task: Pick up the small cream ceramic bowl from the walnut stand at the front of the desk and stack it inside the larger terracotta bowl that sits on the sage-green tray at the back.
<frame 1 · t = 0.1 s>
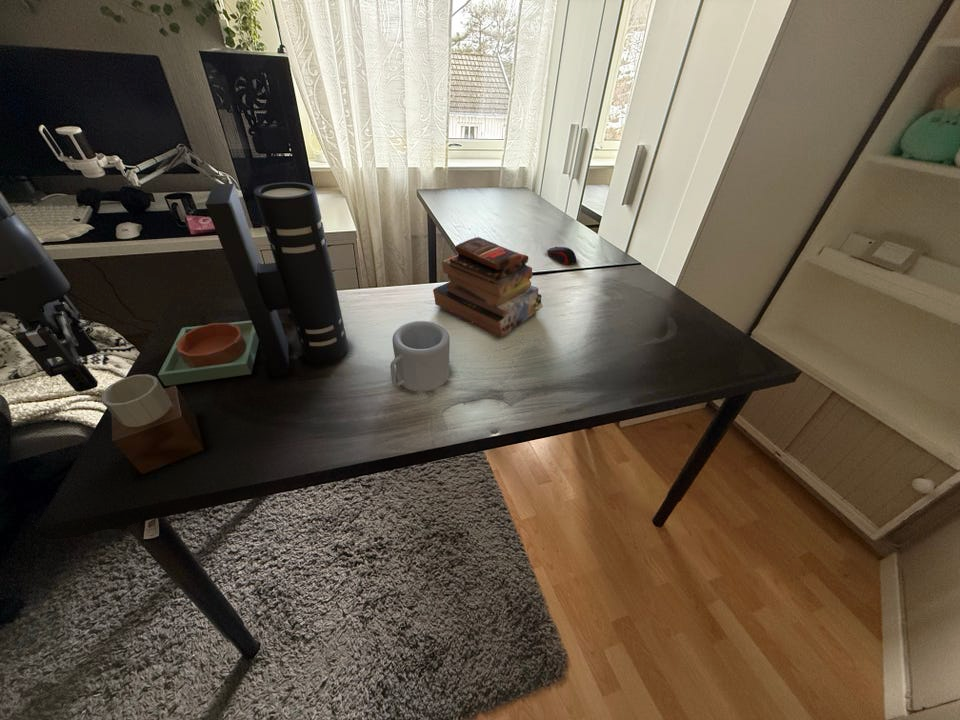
hand: (89, 370, 52), 15 cm above the table, tool pointing down, fingers open, 8 cm apart
big bowl: (216, 352, 77), point 1 cm above the table, touching tray
mug: (418, 378, 76), on the table
small bowl: (146, 410, 55), point 8 cm above the table, touching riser
light fixture: (312, 355, 80), on the table
computer mouse: (561, 258, 126), on the table
stack of old books: (487, 311, 98), on the table
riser: (171, 444, 60), on the table
tray: (218, 355, 78), on the table
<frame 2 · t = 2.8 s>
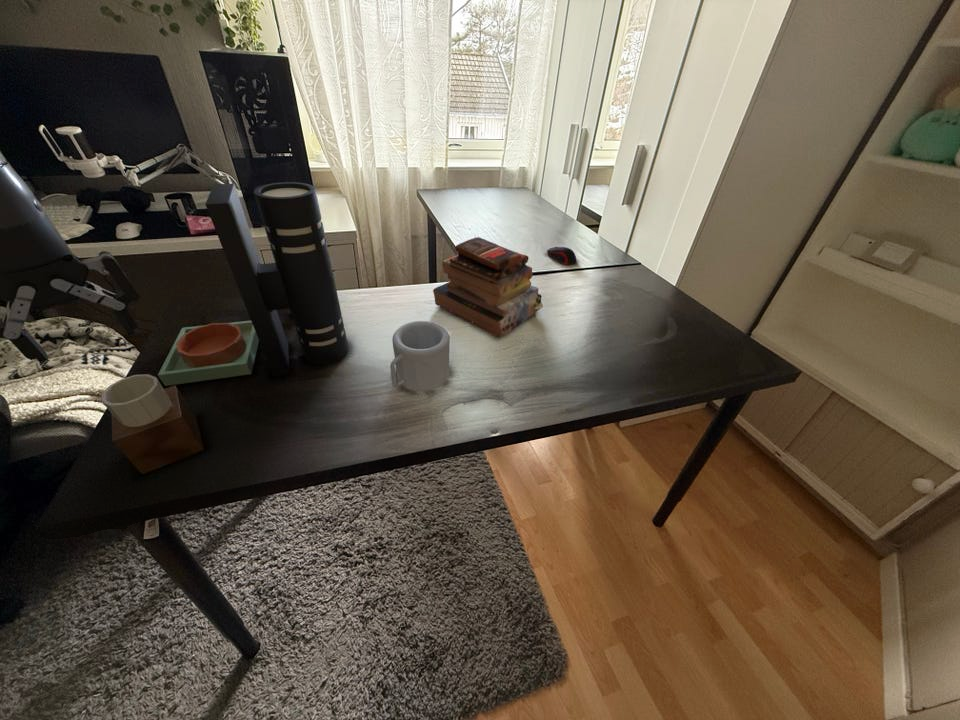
hand: (89, 344, 48), 20 cm above the table, tool pointing down, fingers open, 8 cm apart
nothing on the table moved.
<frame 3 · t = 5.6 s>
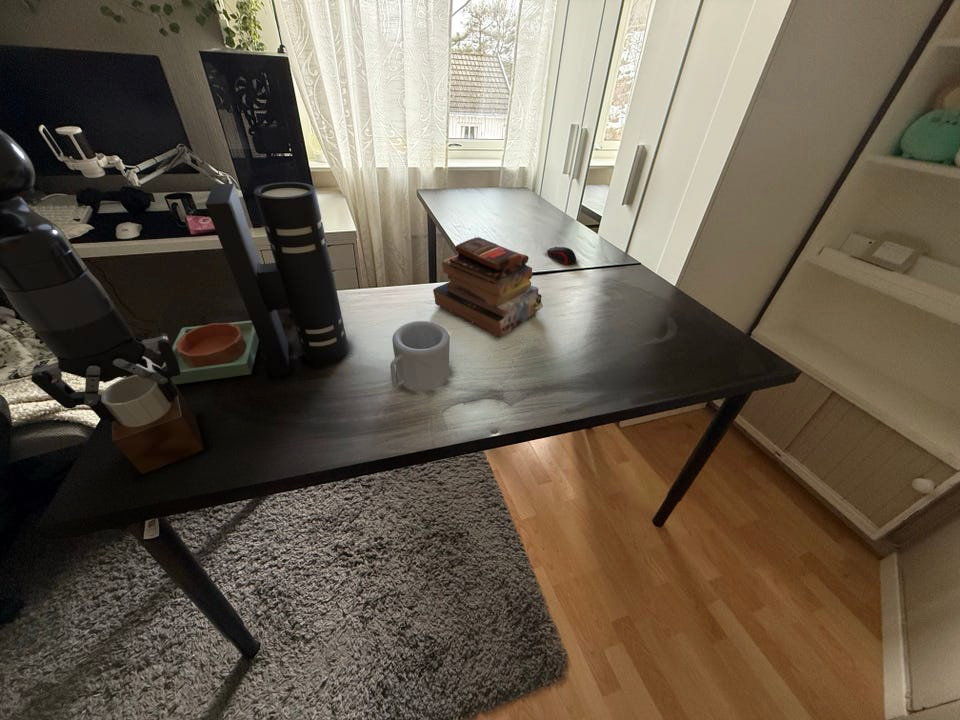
hand: (143, 407, 55), 9 cm above the table, tool pointing down, fingers closed on small bowl, 6 cm apart
small bowl: (146, 410, 55), point 8 cm above the table, touching gripper, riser
everything else where it was.
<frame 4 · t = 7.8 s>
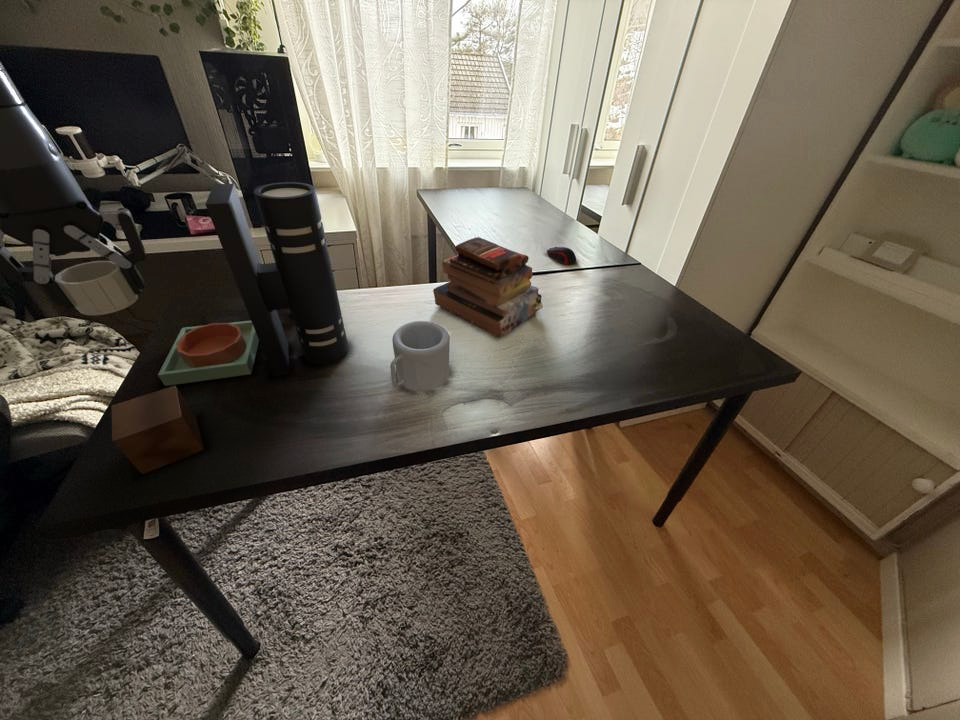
hand: (106, 298, 49), 24 cm above the table, tool pointing down, fingers closed on small bowl, 6 cm apart
small bowl: (109, 302, 50), point 23 cm above the table, touching gripper
everything else where it was.
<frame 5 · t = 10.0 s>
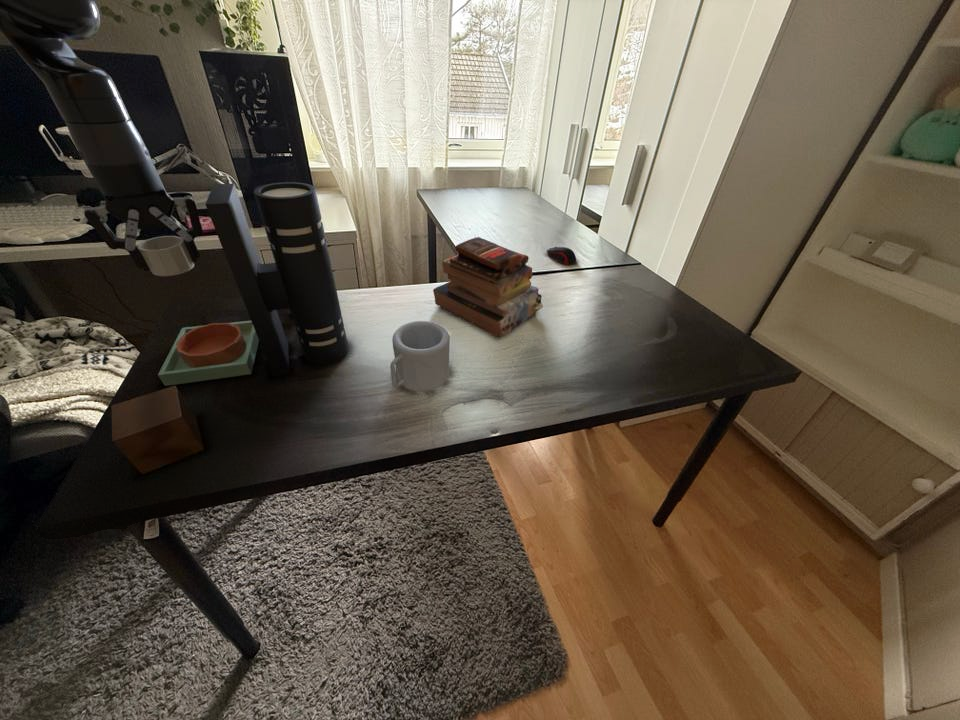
hand: (171, 264, 64), 20 cm above the table, tool pointing down, fingers closed on small bowl, 6 cm apart
small bowl: (173, 268, 65), point 20 cm above the table, touching gripper
everything else where it was.
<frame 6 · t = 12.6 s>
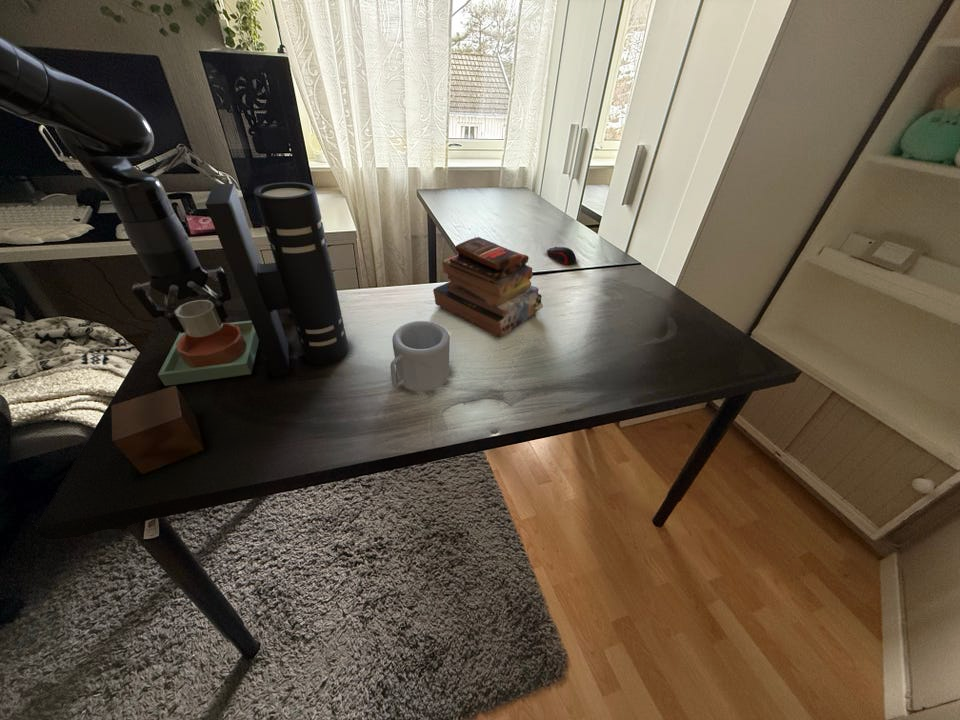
hand: (203, 325, 73), 8 cm above the table, tool pointing down, fingers closed on small bowl, 6 cm apart
small bowl: (204, 328, 73), point 7 cm above the table, touching gripper
everything else where it was.
when the fingers open (3 cm above the table, at t = 14.6 s): small bowl stays where it is, resting on big bowl.
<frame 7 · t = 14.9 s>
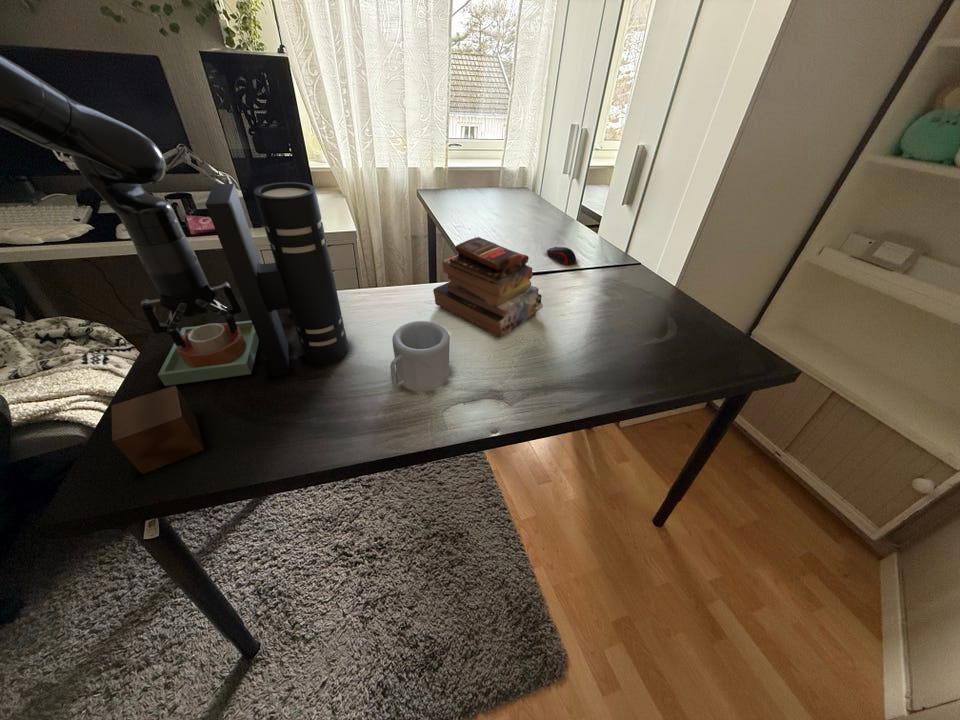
hand: (209, 338, 75), 4 cm above the table, tool pointing down, fingers open, 8 cm apart
big bowl: (216, 352, 77), point 1 cm above the table, touching small bowl, tray
small bowl: (215, 350, 77), point 1 cm above the table, touching big bowl
everything else where it was.
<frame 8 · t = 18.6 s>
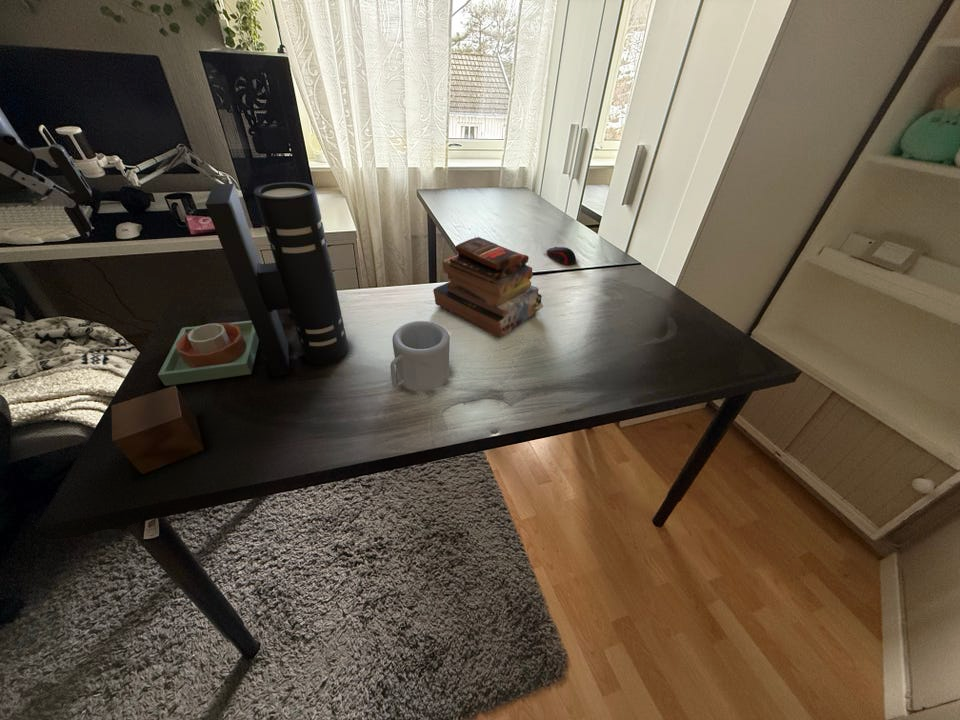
hand: (41, 241, 47), 30 cm above the table, tool pointing down, fingers open, 8 cm apart
nothing on the table moved.
at the end: small bowl 0.0 cm off-centre on the big bowl, point 0.6 cm above the big bowl's base; small bowl tilted 0°; big bowl inside the target area in the tray (0.0 cm from its centre), point 0.8 cm above the tray's base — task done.
